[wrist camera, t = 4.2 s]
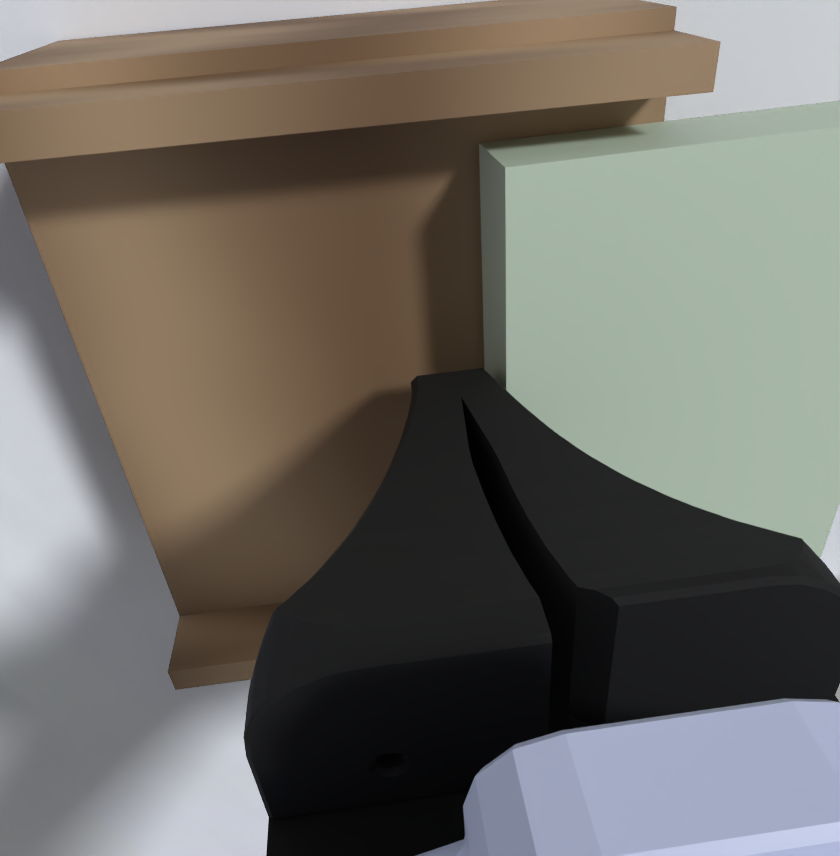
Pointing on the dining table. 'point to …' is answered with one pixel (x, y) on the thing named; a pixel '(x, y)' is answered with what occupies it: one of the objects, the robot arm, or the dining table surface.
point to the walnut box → (292, 253)
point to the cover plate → (678, 304)
